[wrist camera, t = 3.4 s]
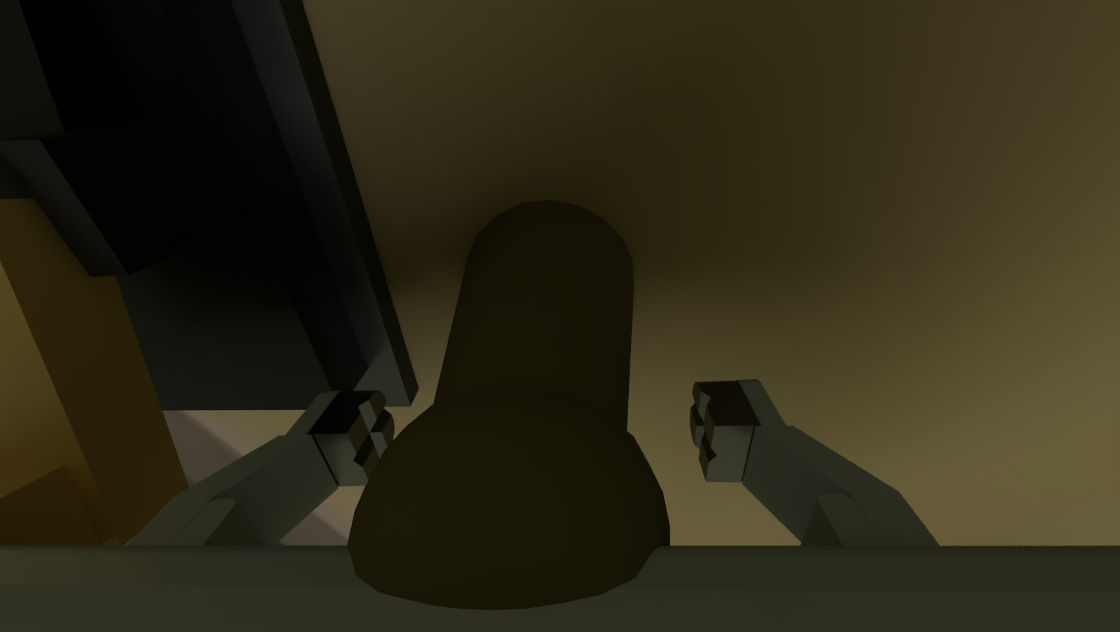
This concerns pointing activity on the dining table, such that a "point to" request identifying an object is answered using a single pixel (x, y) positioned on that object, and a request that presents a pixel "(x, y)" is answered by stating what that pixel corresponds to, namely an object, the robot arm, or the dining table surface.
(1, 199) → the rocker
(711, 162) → the dining table surface
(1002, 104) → the dining table surface
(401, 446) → the dark tall tapered piece
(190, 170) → the grey box with tabs
